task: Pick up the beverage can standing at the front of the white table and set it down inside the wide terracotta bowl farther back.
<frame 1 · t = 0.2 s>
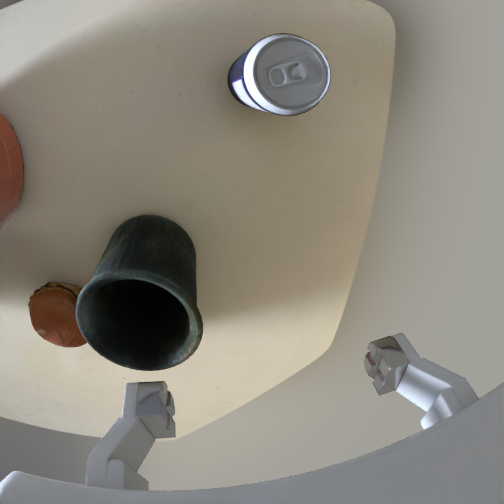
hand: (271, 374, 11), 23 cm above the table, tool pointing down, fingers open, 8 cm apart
beverage can: (256, 80, 26), on the table
mug: (154, 266, 34), on the table
burger: (67, 305, 35), on the table
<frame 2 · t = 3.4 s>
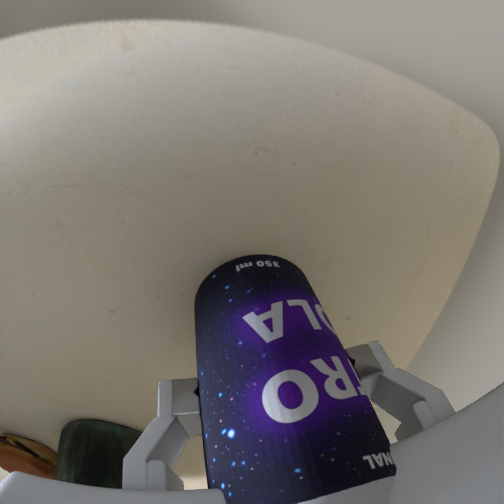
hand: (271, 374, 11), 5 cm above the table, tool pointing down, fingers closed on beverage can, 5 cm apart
beverage can: (250, 291, 16), on the table, touching gripper
mug: (115, 447, 23), on the table
burger: (29, 446, 23), on the table
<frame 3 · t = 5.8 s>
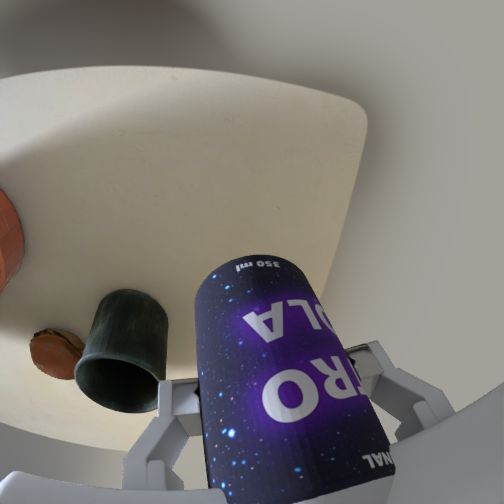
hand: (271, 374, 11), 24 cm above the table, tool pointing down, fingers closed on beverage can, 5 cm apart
beverage can: (250, 291, 16), point 19 cm above the table, touching gripper
mug: (134, 325, 39), on the table
burger: (61, 345, 39), on the table
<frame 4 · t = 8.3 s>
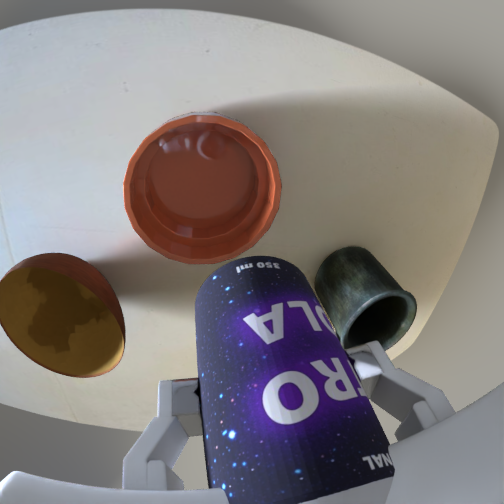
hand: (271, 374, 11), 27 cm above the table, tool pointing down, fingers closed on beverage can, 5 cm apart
terracotta bowl: (201, 178, 34), on the table
bowl: (77, 281, 37), on the table
beverage can: (250, 292, 16), point 21 cm above the table, touching gripper
mug: (340, 282, 45), on the table
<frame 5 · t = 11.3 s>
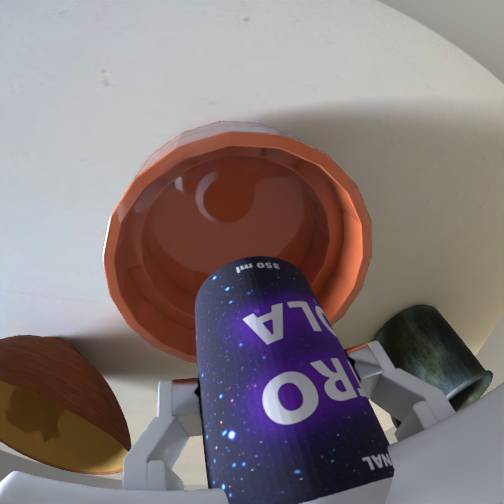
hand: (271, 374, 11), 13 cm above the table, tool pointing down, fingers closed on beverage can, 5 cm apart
terracotta bowl: (232, 229, 22), on the table
bowl: (59, 355, 26), on the table
beverage can: (250, 292, 16), point 7 cm above the table, touching gripper
mug: (397, 344, 33), on the table
when the fingers open (6 cm above the table, at t = 13.5 s): beverage can stays where it is, resting on terracotta bowl.
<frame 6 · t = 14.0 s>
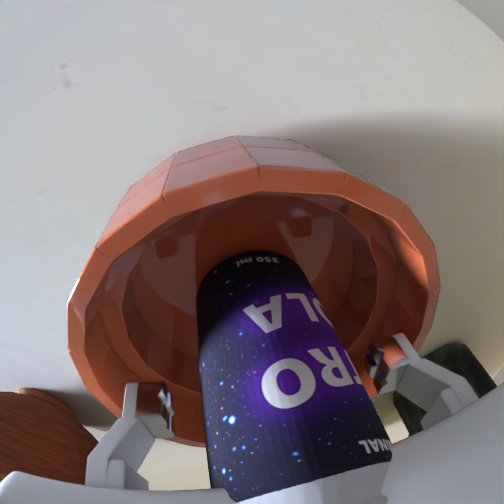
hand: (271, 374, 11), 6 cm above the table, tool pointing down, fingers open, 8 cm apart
terracotta bowl: (246, 282, 16), on the table
bowl: (45, 405, 20), on the table
beverage can: (250, 287, 16), resting on terracotta bowl
mug: (421, 381, 28), on the table
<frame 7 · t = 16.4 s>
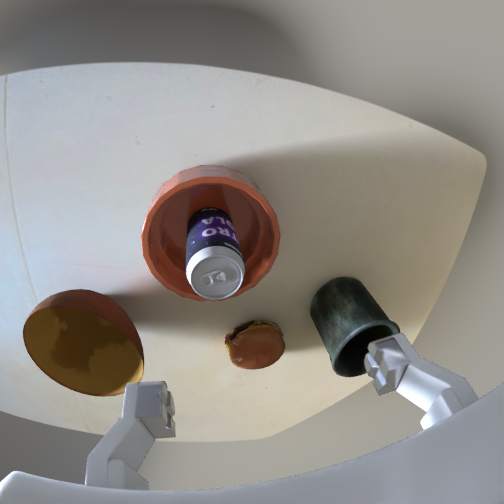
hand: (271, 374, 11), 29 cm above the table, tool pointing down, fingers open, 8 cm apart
terracotta bowl: (208, 223, 38), on the table
bowl: (95, 310, 42), on the table
beverage can: (209, 224, 38), resting on terracotta bowl
mug: (333, 308, 50), on the table
burger: (253, 336, 50), on the table
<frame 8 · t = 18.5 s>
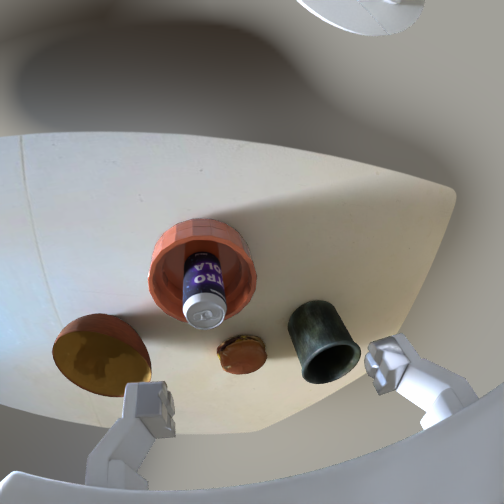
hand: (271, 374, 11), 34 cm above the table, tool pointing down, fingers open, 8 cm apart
terracotta bowl: (201, 262, 48), on the table
bowl: (110, 327, 51), on the table
beverage can: (202, 263, 47), resting on terracotta bowl
mug: (309, 324, 59), on the table
burger: (240, 347, 59), on the table
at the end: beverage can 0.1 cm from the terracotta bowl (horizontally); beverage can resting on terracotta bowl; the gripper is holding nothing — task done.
